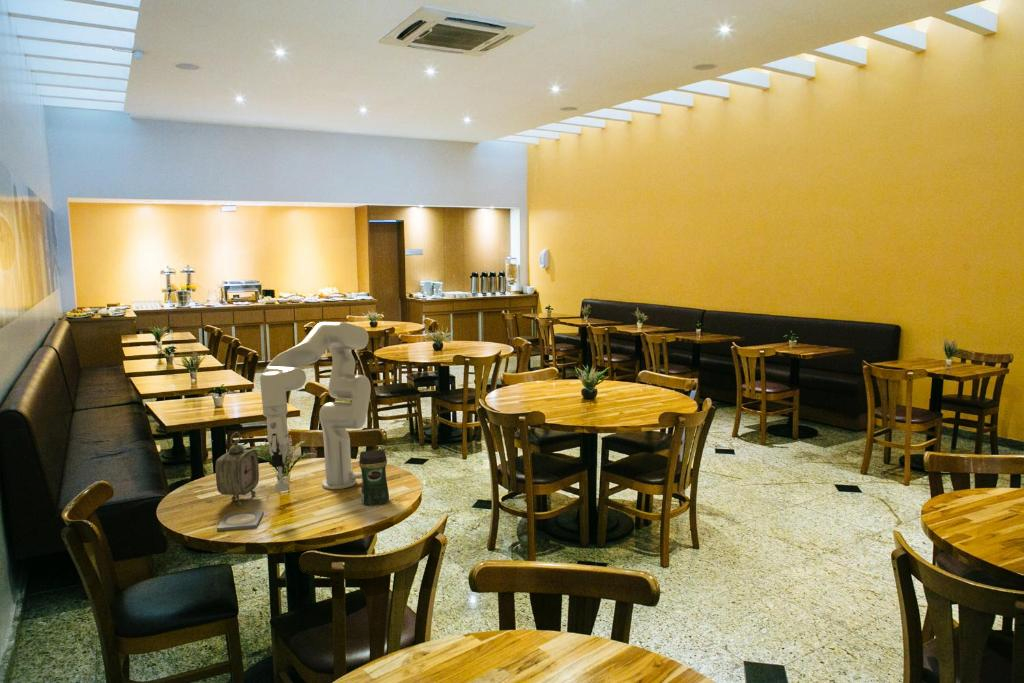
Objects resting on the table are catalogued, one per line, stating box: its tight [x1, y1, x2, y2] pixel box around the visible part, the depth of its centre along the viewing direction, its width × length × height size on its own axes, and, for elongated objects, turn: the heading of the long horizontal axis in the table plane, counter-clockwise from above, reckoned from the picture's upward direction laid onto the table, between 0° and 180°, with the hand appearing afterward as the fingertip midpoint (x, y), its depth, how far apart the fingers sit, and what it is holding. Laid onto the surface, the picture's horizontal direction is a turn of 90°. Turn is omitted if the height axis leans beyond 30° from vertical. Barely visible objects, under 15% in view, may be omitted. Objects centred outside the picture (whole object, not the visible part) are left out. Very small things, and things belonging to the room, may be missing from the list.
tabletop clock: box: [214, 431, 260, 507], centre depth 241 cm, size 14×9×25 cm, turn 175°
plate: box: [216, 510, 264, 532], centre depth 223 cm, size 12×12×1 cm
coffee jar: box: [358, 448, 390, 506], centre depth 238 cm, size 10×8×19 cm
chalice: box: [266, 433, 291, 493], centre depth 224 cm, size 7×7×18 cm
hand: (279, 462), depth 224 cm, fingers closed on chalice, 6 cm apart
